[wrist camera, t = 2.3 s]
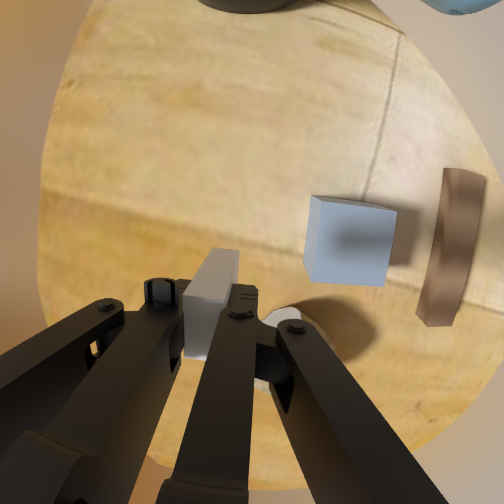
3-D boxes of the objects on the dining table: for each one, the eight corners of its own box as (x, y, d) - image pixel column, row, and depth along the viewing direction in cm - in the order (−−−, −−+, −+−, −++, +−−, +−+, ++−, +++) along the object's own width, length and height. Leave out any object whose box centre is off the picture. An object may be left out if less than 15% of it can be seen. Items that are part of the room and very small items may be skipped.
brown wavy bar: (443, 167, 27) (460, 168, 24) (467, 174, 27) (484, 176, 24) (415, 313, 32) (427, 326, 29) (438, 313, 32) (451, 326, 29)
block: (310, 195, 29) (322, 201, 23) (374, 203, 29) (397, 211, 23) (302, 261, 31) (311, 281, 25) (364, 266, 31) (383, 286, 25)
